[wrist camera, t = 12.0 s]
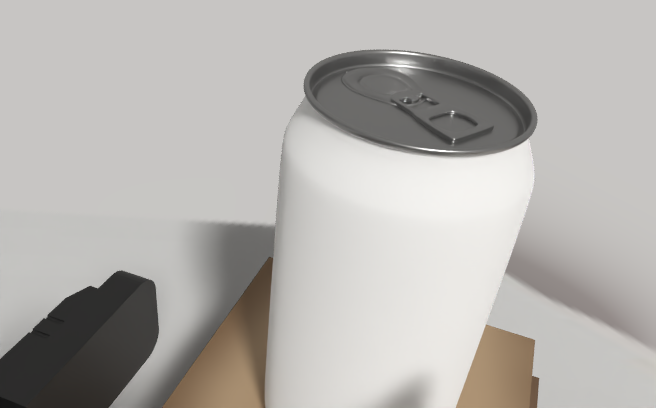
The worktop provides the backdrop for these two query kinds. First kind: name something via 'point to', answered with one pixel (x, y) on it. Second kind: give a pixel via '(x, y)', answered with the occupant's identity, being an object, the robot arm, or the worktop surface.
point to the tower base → (251, 349)
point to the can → (392, 229)
